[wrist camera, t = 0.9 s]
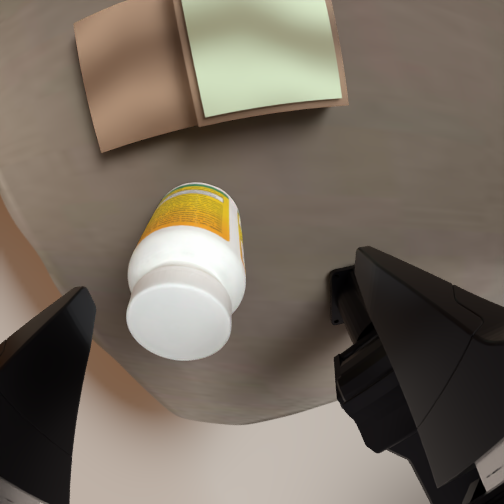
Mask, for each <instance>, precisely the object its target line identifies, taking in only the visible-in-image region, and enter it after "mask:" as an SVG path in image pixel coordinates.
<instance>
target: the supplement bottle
mask: <svg viewBox="0 0 504 504" xmlns="http://www.w3.org/2000/svg"><path fill="white" fill-rule="evenodd" d="M128 283H129V288H130V291H131V298H130V301H129V304H128V307H127V312H126V320H127V325H128V328H129V330H130V332H131V334H132V336H133V337H134V338H135V340H136V341H137V342H138V343H139V344H140V345H141V346H143V347H144V348H145V349H147V350H148V351H150V352H152V353H154V354H156V355H158V356H161V357H164V358H168V359H172V360H180V361H190V360H197V359H201V358H205V357H208V356H210V355H212V354H214V353H215V352H217V351H218V350H220V349H221V348H222V347H223V346H224V345H225V343H226V342H227V340H228V338H229V336H230V332H231V325H232V322H231V314H232V313H233V312H234V311H235V310H236V309H237V307H238V306H239V304H240V302H241V300H242V298H243V295H244V292H245V286H246V273H245V262H244V251H243V242H242V229H241V220H240V215H239V211H238V209H237V206H236V204H235V203H234V201H233V200H232V199H231V197H230V196H229V195H228V194H227V193H225V192H224V191H223V190H221V189H220V188H218V187H215V186H213V185H209V184H206V183H199V182H193V183H186V184H183V185H180V186H178V187H176V188H174V189H172V190H171V191H170V192H168V193H167V194H166V195H165V196H164V198H163V199H162V200H161V202H160V203H159V205H158V207H157V209H156V210H155V212H154V214H153V216H152V218H151V220H150V221H149V223H148V225H147V227H146V229H145V231H144V233H143V234H142V236H141V238H140V240H139V242H138V244H137V246H136V248H135V250H134V252H133V254H132V256H131V259H130V262H129V267H128Z"/></svg>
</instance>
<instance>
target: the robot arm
mask: <svg viewBox="0 0 504 504" xmlns="http://www.w3.org/2000/svg"><path fill="white" fill-rule="evenodd" d="M336 274H338V275H337V276H335V275H336ZM330 300H331V322H332V324H333V325H338V324H342V323H344V324H345V326H346V329H347V331H348V333H349V335H350V338H351V340H352V342H353V345H352V346H351V347H349V348H348V349H347V350H345V351H344V352H343V353H341V354H338V355H337V356H335V357H334V367H335V382H336V393H337V400H338V401H339V402H340V404H341V407H342V408H343V409H344V410H345V412H346V413H347V414H348V415H349V416H350V417H351V418H352V419H354V421H355V423H356V424H357V426H358V429H359V430H360V433H361V435H362V437H363V440H364V442H365V445H366V446H367V447H368V448H370V449H371V450H373V451H374V452H375V453H381V452H383V451H384V450H388V451H390V452H392V453H394V454H396V455H398V456H400V457H403V458H405V459H407V460H408V461H409V463H410V464H411V466H412V468H413V470H414V472H415V474H416V476H417V478H418V480H419V481H420V483H421V485H422V487H423V489H424V491H425V493H426V495H427V497H428V499H429V501H430V503H431V504H504V307H502V306H500V305H498V304H495V303H493V302H490V301H488V300H486V299H483V298H481V297H479V296H477V295H474V294H472V293H470V292H468V291H466V290H464V289H462V288H460V287H458V286H456V285H452V284H451V283H449V282H447V281H445V280H443V279H441V278H439V277H437V276H435V275H432V274H430V273H428V272H426V271H424V270H422V269H420V268H417V267H415V266H413V265H411V264H409V263H406V262H404V261H402V260H400V259H398V258H395V257H393V256H391V255H389V254H386V253H384V252H382V251H380V250H377V249H375V248H373V247H370V246H365V247H359V248H358V249H357V250H356V260H355V265H354V266H349V267H344V268H340V269H335V270H333V271H332V272H331V273H330ZM95 315H96V306H95V303H94V301H93V299H92V297H91V295H90V293H89V291H88V289H87V288H86V287H84V286H81V287H75V288H73V289H72V290H70V291H69V292H68V293H66V294H65V295H64V296H62V297H61V298H60V299H58V300H57V301H55V302H54V303H53V304H51V305H50V306H49V307H47V308H46V309H45V310H43V311H42V312H41V313H39V314H38V315H37V316H35V317H34V318H33V319H31V320H30V321H29V322H28V323H26V324H25V325H24V326H22V327H21V328H20V329H19V330H17V331H16V332H15V333H13V334H12V335H11V336H10V337H9V338H8V339H7V340H5V341H4V342H2V343H1V344H0V504H40V502H41V503H43V504H69V502H70V501H69V499H70V479H71V465H72V457H71V456H72V452H73V443H74V435H75V427H76V420H77V414H78V407H79V402H80V396H81V391H82V385H83V380H84V375H85V370H86V366H87V361H88V357H89V352H90V348H91V341H92V334H93V328H94V321H95Z"/></svg>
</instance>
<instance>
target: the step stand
mask: <svg viewBox="0 0 504 504" xmlns="http://www.w3.org/2000/svg"><path fill="white" fill-rule="evenodd" d="M74 31H75V38H76V44H77V50H78V56H79V62H80V67H81V72H82V77H83V82H84V87H85V91H86V96H87V100H88V104H89V109H90V113H91V117H92V121H93V125H94V128H95V132H96V136H97V139H98V143H99V147H100V150H101V153H103V152H106V151H109V150H112V149H115V148H118V147H121V146H124V145H127V144H130V143H133V142H137V141H140V140H143V139H147V138H150V137H154V136H157V135H161V134H165V133H168V132H172V131H176V130H180V129H184V128H188V127H192V126H196V125H198V126H199V127H202V126H206V125H211V124H215V123H220V122H225V121H230V120H236V119H241V118H247V117H252V116H258V115H265V114H271V113H278V112H285V111H293V110H302V109H311V108H321V107H332V106H346V105H349V103H348V95H347V87H346V80H345V73H344V66H343V60H342V53H341V48H340V42H339V36H338V31H337V26H336V21H335V16H334V12H333V7H332V3H331V0H127V1H124V2H122V3H119V4H116V5H114V6H111V7H109V8H106V9H104V10H102V11H99V12H97V13H95V14H93V15H90V16H88V17H86V18H84V19H82V20H80V21H78V22H76V23H74Z"/></svg>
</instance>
